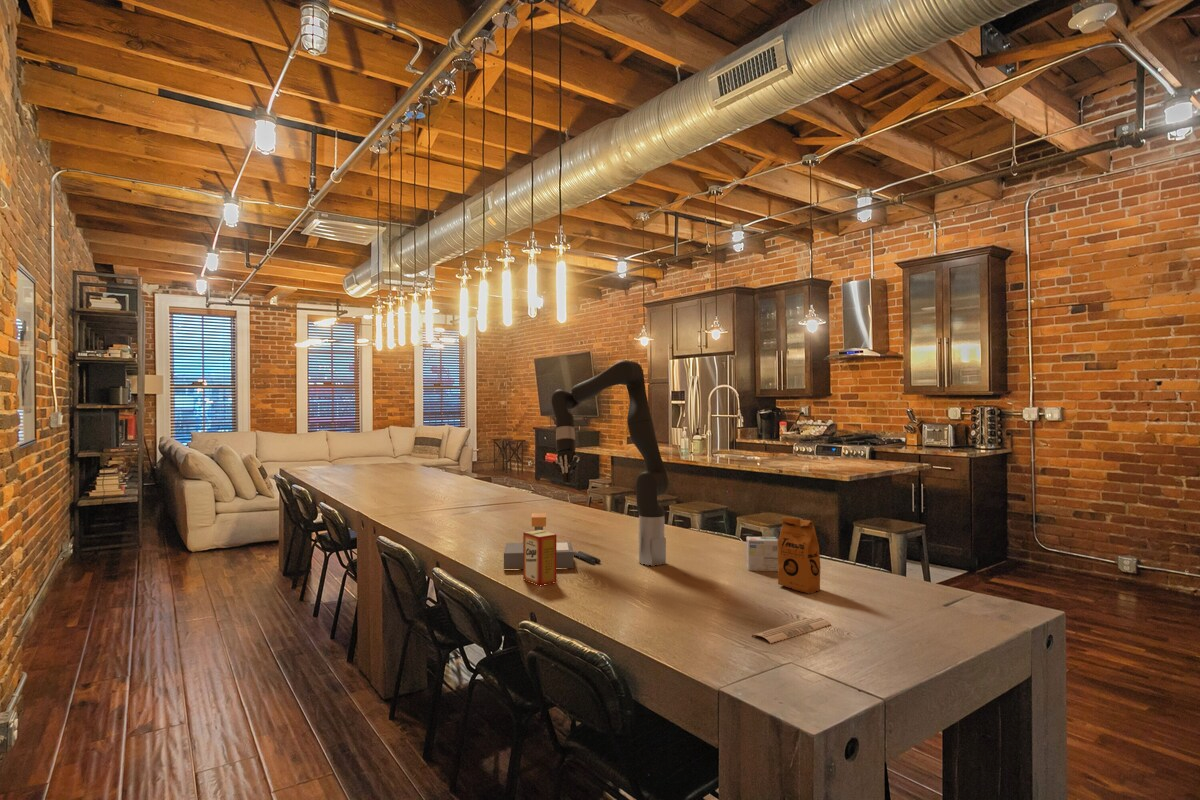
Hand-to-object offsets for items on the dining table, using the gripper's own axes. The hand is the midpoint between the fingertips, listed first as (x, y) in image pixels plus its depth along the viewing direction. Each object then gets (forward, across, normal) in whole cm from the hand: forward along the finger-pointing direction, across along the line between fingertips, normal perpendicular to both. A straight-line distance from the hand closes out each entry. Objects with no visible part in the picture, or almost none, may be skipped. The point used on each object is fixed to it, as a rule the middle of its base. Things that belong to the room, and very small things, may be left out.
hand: (567, 483), depth 247 cm
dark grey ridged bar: (+29, +6, +2) cm, 30 cm away
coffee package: (+43, +80, +16) cm, 92 cm away
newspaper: (+54, +91, -20) cm, 108 cm away
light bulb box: (+36, +62, +30) cm, 78 cm away
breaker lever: (+24, -2, -15) cm, 28 cm away
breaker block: (+30, -3, -14) cm, 33 cm away
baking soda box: (+37, +11, -29) cm, 48 cm away
